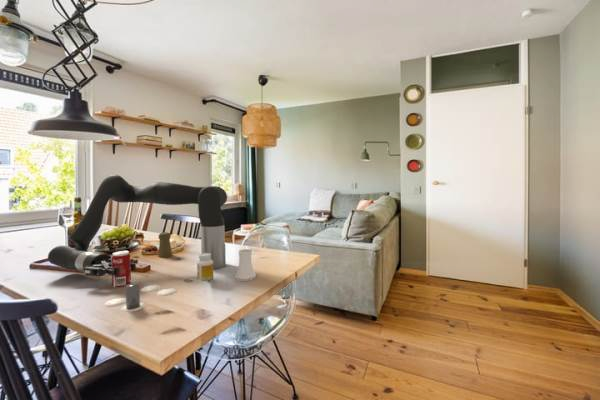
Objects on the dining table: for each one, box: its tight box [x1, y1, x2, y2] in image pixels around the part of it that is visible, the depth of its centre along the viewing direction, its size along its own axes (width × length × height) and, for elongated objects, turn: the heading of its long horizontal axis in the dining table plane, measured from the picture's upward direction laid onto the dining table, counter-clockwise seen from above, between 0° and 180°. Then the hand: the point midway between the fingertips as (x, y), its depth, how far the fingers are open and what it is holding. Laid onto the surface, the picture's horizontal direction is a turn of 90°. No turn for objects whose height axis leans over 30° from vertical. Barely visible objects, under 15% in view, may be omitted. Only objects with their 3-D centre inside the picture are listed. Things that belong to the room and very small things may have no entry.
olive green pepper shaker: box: [157, 232, 173, 258], centre depth 131 cm, size 6×6×11 cm
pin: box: [124, 282, 141, 310], centre depth 75 cm, size 3×3×6 cm
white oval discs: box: [103, 284, 178, 313], centre depth 82 cm, size 22×13×1 cm, turn 157°
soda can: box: [111, 250, 132, 288], centre depth 91 cm, size 5×5×12 cm
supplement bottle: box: [196, 252, 214, 284], centre depth 98 cm, size 5×5×10 cm
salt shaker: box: [234, 248, 257, 282], centre depth 103 cm, size 8×8×10 cm
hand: (126, 269), depth 90 cm, fingers closed on soda can, 5 cm apart
